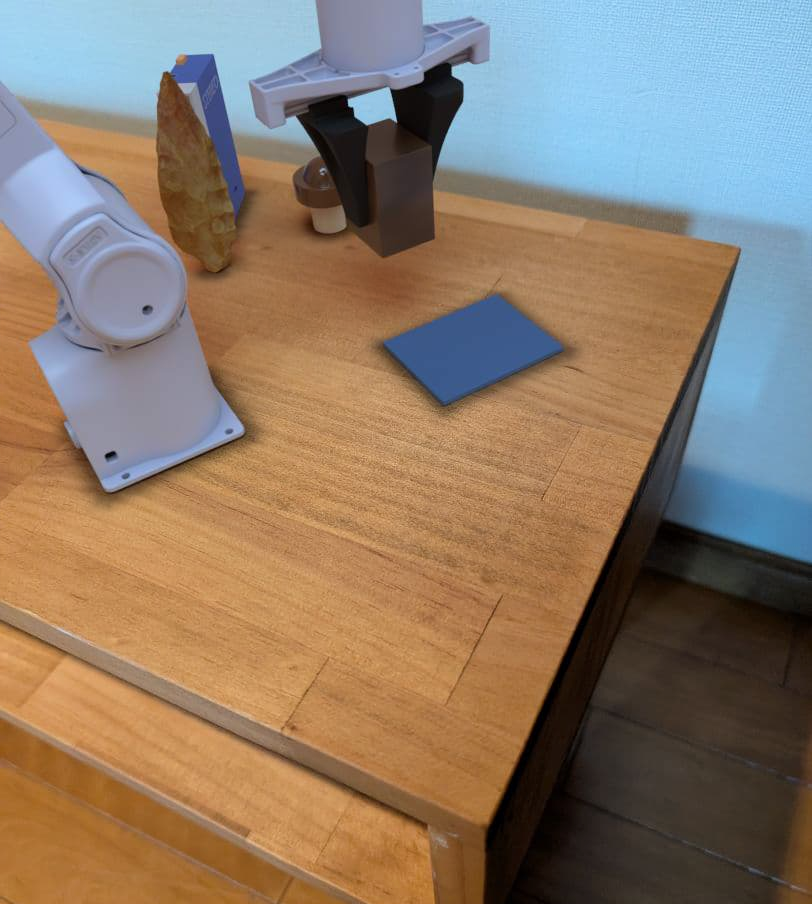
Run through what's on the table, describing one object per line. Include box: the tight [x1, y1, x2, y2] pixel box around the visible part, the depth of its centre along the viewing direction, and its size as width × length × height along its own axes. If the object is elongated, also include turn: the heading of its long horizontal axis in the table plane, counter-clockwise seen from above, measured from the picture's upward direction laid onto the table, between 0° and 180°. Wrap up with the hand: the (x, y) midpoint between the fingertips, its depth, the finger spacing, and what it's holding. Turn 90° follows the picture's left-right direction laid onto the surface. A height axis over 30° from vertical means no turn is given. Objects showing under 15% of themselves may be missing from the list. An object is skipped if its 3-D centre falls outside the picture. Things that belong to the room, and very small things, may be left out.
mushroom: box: [291, 154, 347, 235], centre depth 65 cm, size 5×5×6 cm
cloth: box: [382, 293, 565, 407], centre depth 55 cm, size 10×8×1 cm
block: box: [345, 117, 436, 260], centre depth 49 cm, size 4×5×6 cm
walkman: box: [156, 53, 246, 221], centre depth 65 cm, size 8×3×12 cm, turn 176°
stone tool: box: [155, 70, 237, 274], centre depth 58 cm, size 5×2×15 cm, turn 121°
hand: (387, 209), depth 51 cm, fingers closed on block, 4 cm apart
